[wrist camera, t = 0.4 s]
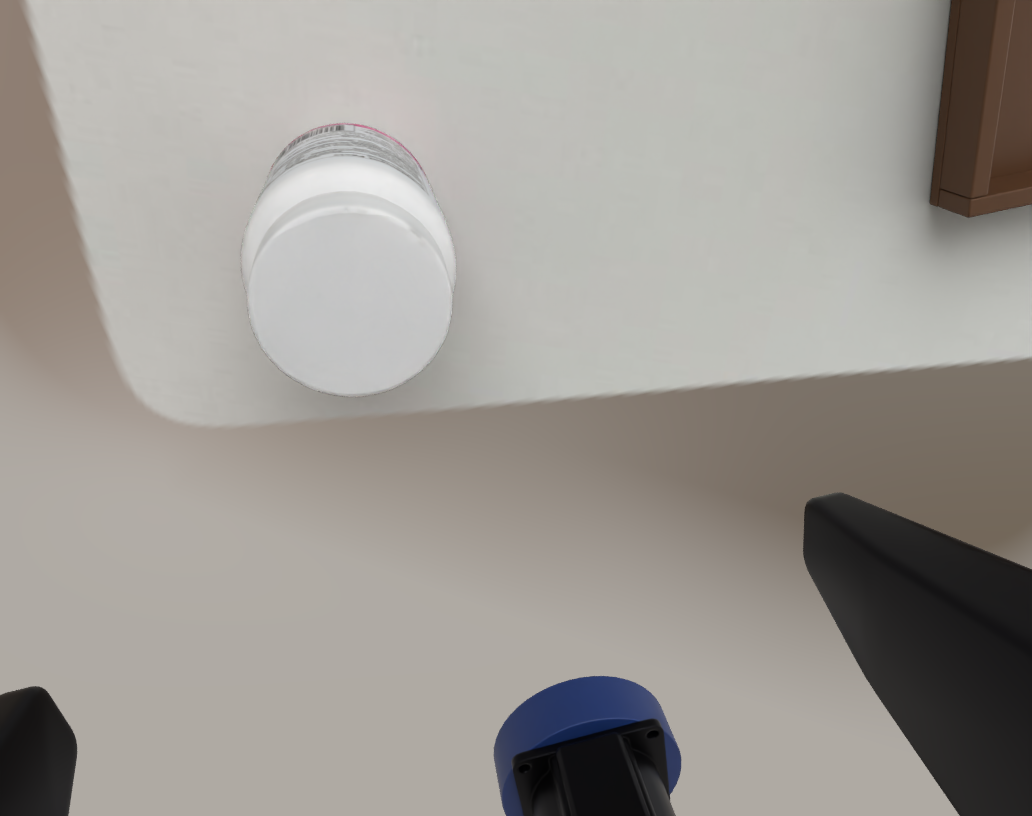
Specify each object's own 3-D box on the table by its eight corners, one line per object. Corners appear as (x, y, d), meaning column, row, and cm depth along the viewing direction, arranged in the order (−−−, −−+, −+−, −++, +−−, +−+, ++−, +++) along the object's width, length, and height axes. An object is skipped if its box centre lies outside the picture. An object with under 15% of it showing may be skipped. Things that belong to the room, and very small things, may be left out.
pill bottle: (411, 301, 24) (435, 436, 17) (252, 263, 23) (204, 392, 16) (453, 148, 22) (501, 225, 15) (282, 96, 21) (244, 153, 14)
